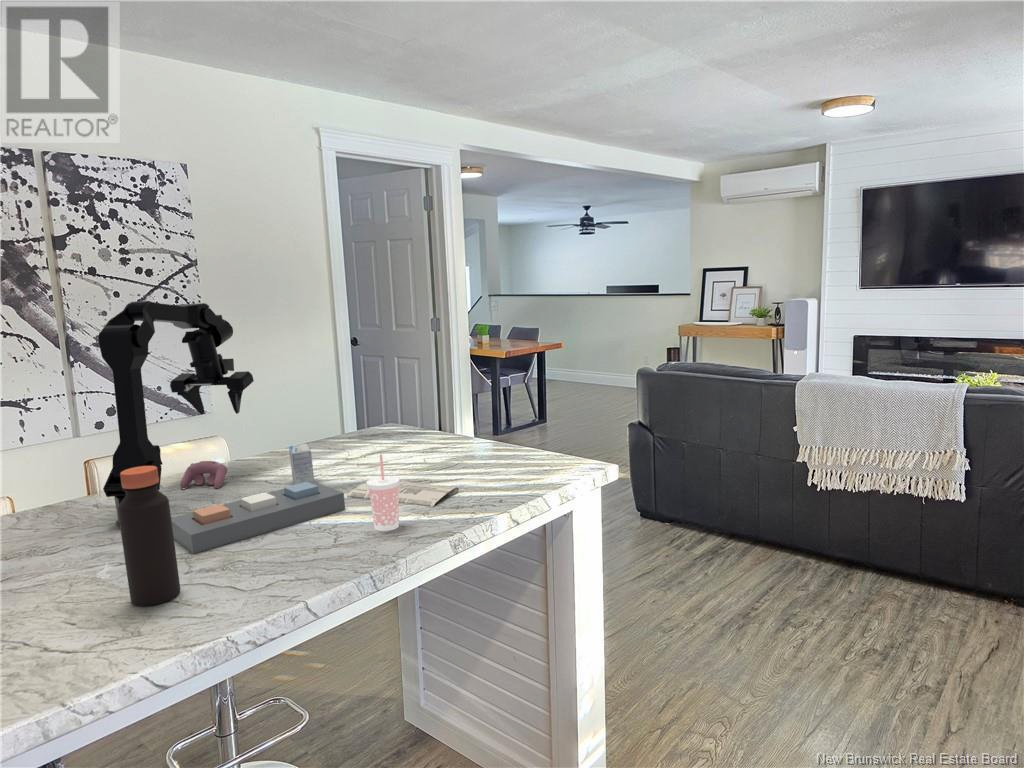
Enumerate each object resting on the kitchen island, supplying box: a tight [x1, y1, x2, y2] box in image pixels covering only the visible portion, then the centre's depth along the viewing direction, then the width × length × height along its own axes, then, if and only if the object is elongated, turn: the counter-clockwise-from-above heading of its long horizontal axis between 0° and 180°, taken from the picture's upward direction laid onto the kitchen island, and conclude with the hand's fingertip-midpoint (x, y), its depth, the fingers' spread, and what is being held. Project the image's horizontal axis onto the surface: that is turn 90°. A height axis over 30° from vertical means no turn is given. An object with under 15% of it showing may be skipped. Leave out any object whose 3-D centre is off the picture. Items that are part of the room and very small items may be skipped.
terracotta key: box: [192, 503, 231, 525], centre depth 130 cm, size 5×5×3 cm
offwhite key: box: [240, 491, 277, 512], centre depth 136 cm, size 5×5×3 cm
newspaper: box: [346, 477, 459, 508], centre depth 151 cm, size 23×12×2 cm, turn 65°
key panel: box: [171, 480, 346, 555], centre depth 137 cm, size 30×13×4 cm, turn 133°
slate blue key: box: [283, 482, 319, 500], centre depth 142 cm, size 5×5×3 cm
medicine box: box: [288, 443, 315, 485], centre depth 161 cm, size 8×4×9 cm, turn 22°
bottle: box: [118, 466, 181, 607], centre depth 104 cm, size 7×7×20 cm
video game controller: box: [180, 460, 228, 489], centre depth 164 cm, size 10×5×7 cm, turn 84°
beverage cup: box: [366, 454, 400, 532], centre depth 130 cm, size 6×6×14 cm
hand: (220, 413), depth 171 cm, fingers open, 9 cm apart
